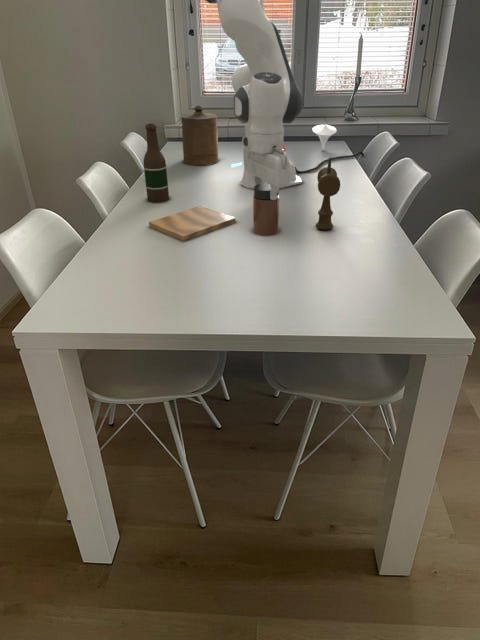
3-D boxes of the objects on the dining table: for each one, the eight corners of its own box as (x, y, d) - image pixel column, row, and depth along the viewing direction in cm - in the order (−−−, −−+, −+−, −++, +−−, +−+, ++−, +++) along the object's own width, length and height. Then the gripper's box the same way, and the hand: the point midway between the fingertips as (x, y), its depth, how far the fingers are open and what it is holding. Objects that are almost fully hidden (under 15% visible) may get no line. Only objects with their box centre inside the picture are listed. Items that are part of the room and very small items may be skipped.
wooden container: (225, 159, 212) (223, 104, 200) (205, 167, 201) (202, 109, 189) (197, 155, 218) (194, 102, 207) (176, 162, 208) (172, 106, 196)
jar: (270, 224, 144) (271, 184, 138) (282, 232, 139) (284, 190, 132) (248, 228, 142) (248, 187, 135) (260, 237, 136) (260, 194, 130)
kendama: (314, 234, 137) (319, 161, 127) (313, 222, 146) (317, 152, 135) (335, 234, 137) (342, 161, 126) (333, 222, 145) (339, 153, 135)
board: (200, 210, 156) (200, 205, 155) (235, 222, 146) (235, 217, 145) (149, 226, 144) (148, 222, 143) (184, 241, 134) (183, 236, 133)
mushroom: (336, 153, 218) (339, 125, 212) (312, 153, 218) (314, 125, 212) (333, 148, 227) (335, 120, 221) (309, 148, 227) (311, 121, 221)
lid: (271, 190, 139) (271, 182, 137) (282, 197, 133) (283, 188, 132) (249, 194, 136) (249, 185, 135) (261, 200, 131) (261, 192, 130)
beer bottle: (165, 203, 162) (158, 126, 149) (143, 202, 163) (134, 126, 151) (172, 196, 168) (166, 122, 156) (151, 195, 170) (143, 121, 157)
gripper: (297, 149, 121) (294, 204, 128) (259, 134, 136) (259, 184, 144) (275, 152, 118) (273, 207, 126) (239, 137, 134) (239, 187, 141)
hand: (265, 195), depth 135 cm, fingers closed on lid, 6 cm apart
